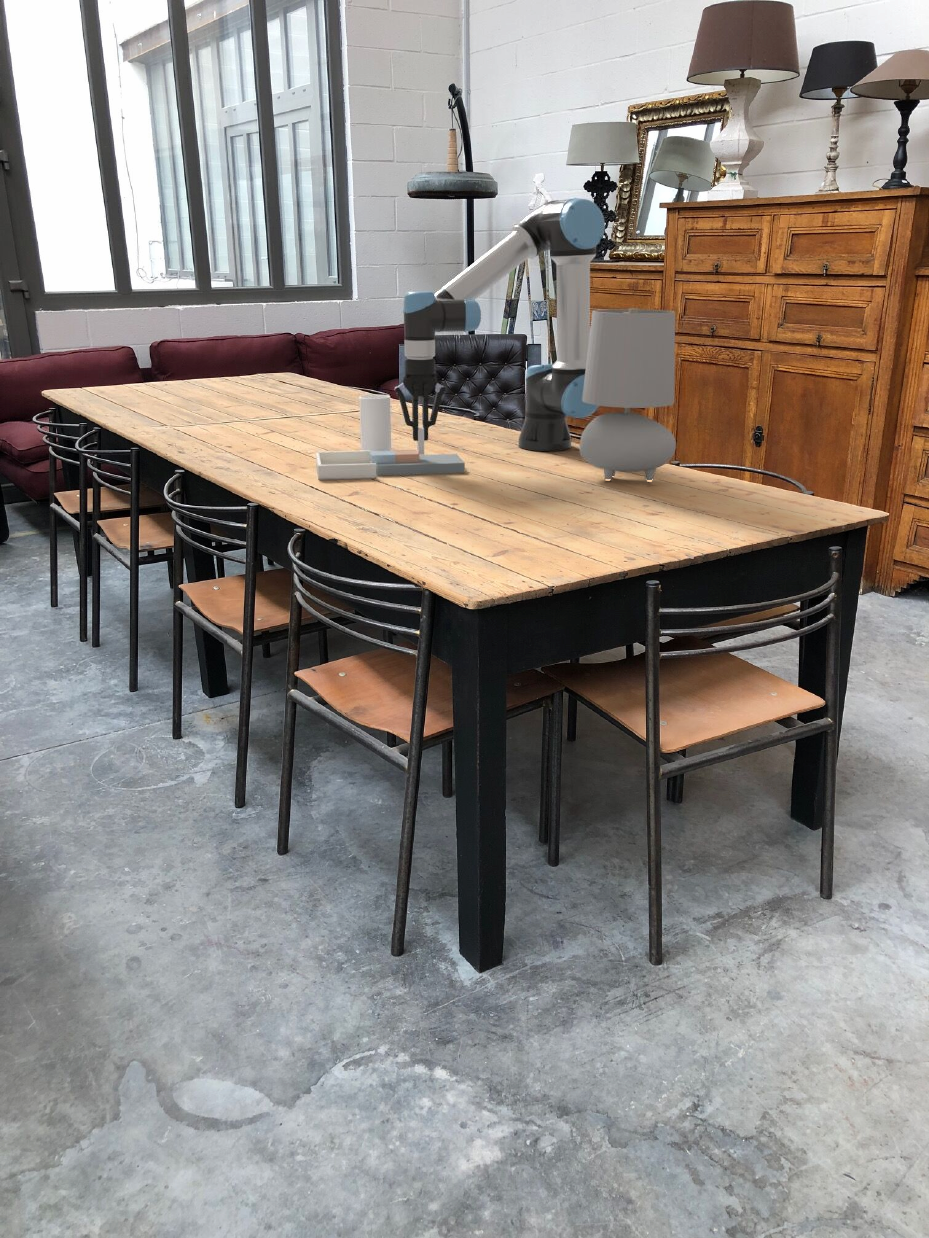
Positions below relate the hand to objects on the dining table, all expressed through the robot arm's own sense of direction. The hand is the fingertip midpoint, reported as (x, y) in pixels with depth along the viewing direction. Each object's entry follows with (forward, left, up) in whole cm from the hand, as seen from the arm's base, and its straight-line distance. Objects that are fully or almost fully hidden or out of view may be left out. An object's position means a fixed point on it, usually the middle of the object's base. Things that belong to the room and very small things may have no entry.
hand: (420, 453), depth 245 cm
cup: (+10, -19, -4) cm, 22 cm away
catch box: (+19, 0, -4) cm, 20 cm away
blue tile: (+10, 0, -2) cm, 10 cm away
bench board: (+1, 0, -4) cm, 4 cm away
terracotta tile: (+4, 0, -2) cm, 4 cm away
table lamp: (-47, +21, -4) cm, 52 cm away
